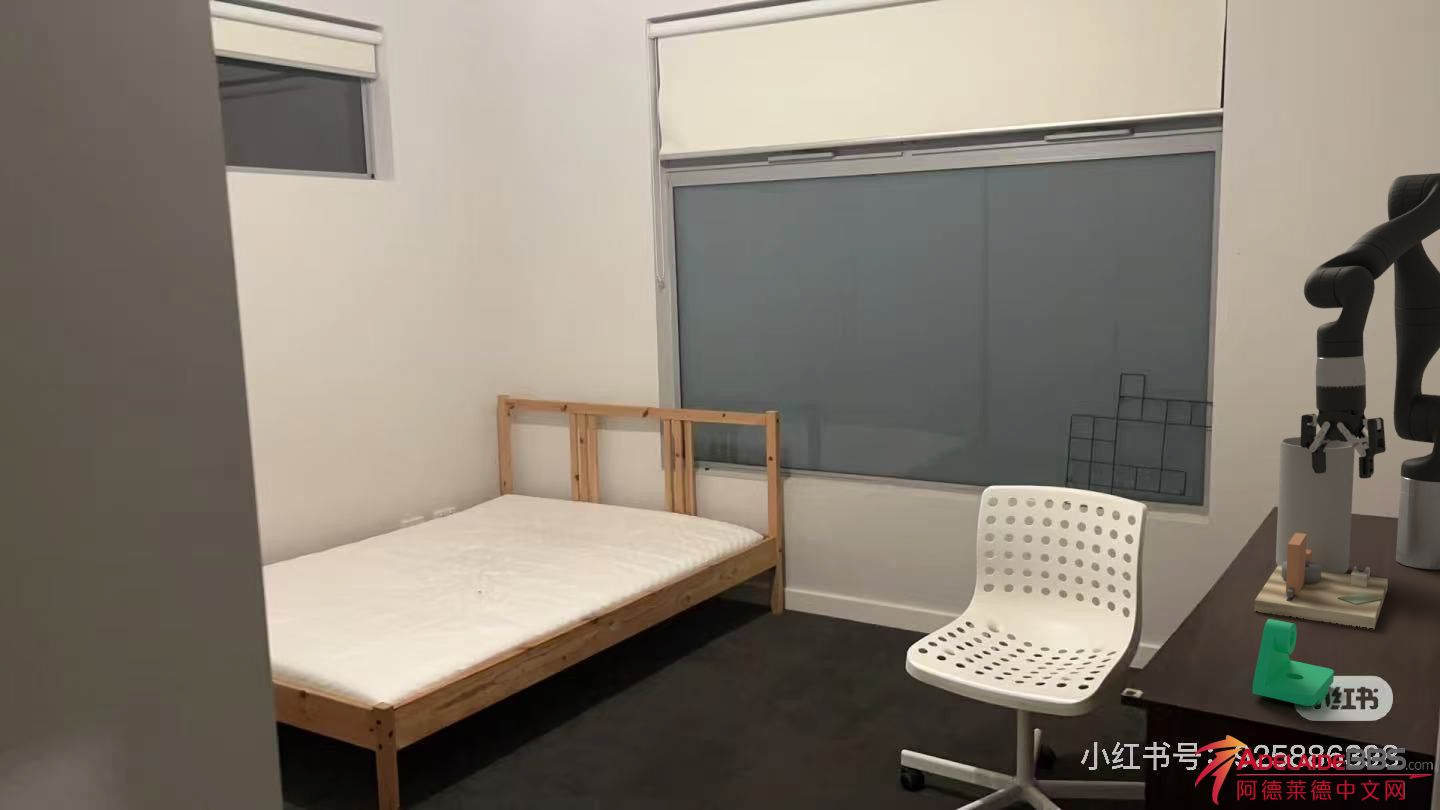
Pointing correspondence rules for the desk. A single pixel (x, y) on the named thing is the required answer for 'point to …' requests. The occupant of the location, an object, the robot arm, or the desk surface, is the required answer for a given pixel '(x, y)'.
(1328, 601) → the level stand
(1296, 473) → the cylinder vase
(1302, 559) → the orange grey panel fixture
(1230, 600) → the desk surface
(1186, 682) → the desk surface
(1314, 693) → the camera mount
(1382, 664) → the desk surface
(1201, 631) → the desk surface
